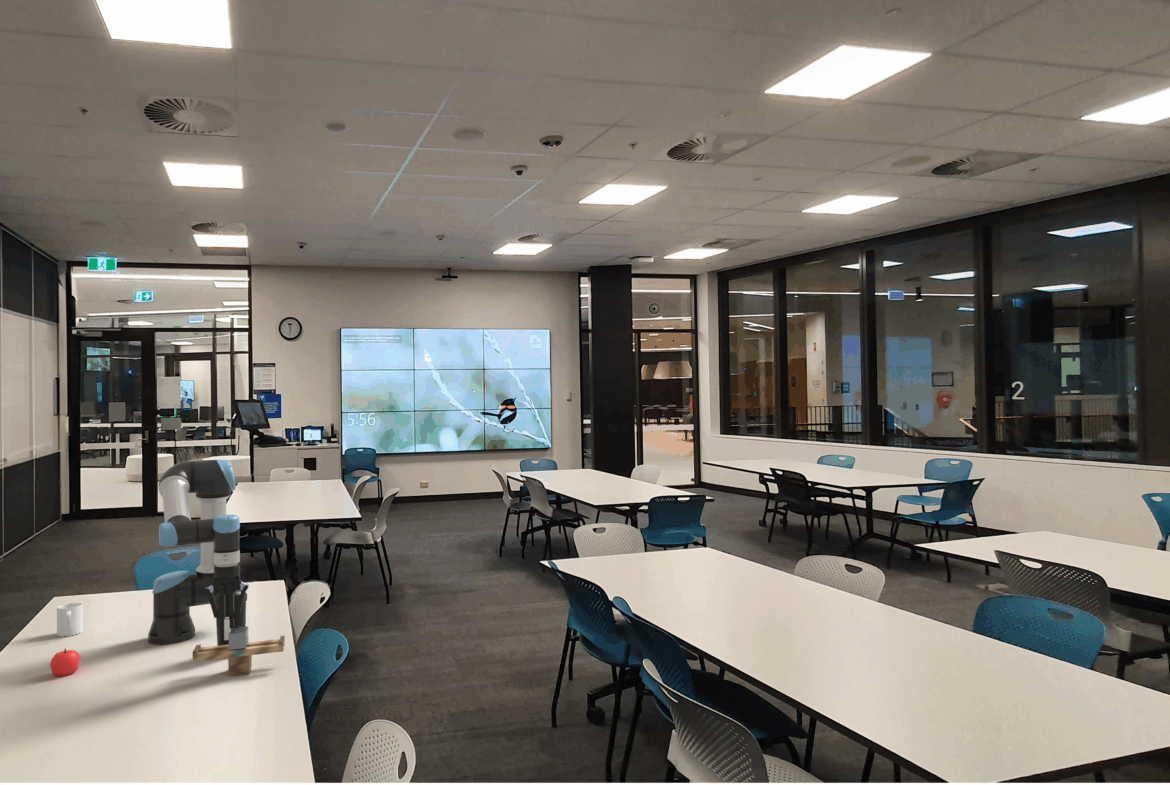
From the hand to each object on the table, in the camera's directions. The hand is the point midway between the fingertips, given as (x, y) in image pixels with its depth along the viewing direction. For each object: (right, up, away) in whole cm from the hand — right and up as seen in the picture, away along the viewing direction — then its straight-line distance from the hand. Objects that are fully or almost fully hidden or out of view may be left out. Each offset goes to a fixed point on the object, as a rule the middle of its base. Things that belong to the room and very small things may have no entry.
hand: (227, 638), depth 236 cm
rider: (+3, -5, +1) cm, 6 cm away
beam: (+4, -11, +1) cm, 11 cm away
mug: (-78, -12, +40) cm, 89 cm away
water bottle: (-8, -11, +19) cm, 23 cm away
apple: (-52, -12, +1) cm, 54 cm away
